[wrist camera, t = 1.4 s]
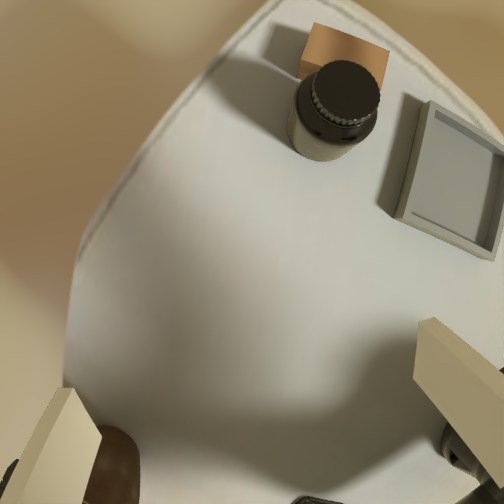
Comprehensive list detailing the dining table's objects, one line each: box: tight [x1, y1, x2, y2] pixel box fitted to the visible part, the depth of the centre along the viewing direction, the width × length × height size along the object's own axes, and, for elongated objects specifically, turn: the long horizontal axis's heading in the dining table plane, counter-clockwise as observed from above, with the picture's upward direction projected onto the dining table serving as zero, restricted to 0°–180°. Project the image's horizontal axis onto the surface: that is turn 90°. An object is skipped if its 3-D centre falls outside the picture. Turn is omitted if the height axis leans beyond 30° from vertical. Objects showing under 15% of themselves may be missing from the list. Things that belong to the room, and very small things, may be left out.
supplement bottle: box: [287, 60, 381, 162], centre depth 25 cm, size 7×7×12 cm
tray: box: [393, 100, 504, 262], centre depth 30 cm, size 14×14×2 cm
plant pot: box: [82, 426, 140, 504], centre depth 28 cm, size 15×15×16 cm
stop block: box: [296, 22, 390, 90], centre depth 28 cm, size 8×5×4 cm, turn 71°
